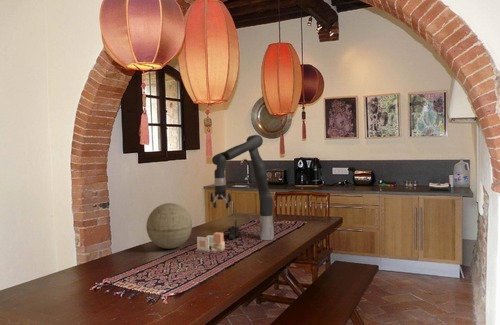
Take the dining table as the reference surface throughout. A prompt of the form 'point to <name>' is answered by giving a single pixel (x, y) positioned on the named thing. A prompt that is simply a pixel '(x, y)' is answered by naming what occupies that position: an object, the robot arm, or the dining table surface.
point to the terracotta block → (218, 237)
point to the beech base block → (218, 246)
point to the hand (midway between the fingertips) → (221, 208)
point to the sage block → (210, 239)
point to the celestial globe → (169, 225)
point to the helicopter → (232, 231)
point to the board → (203, 244)
